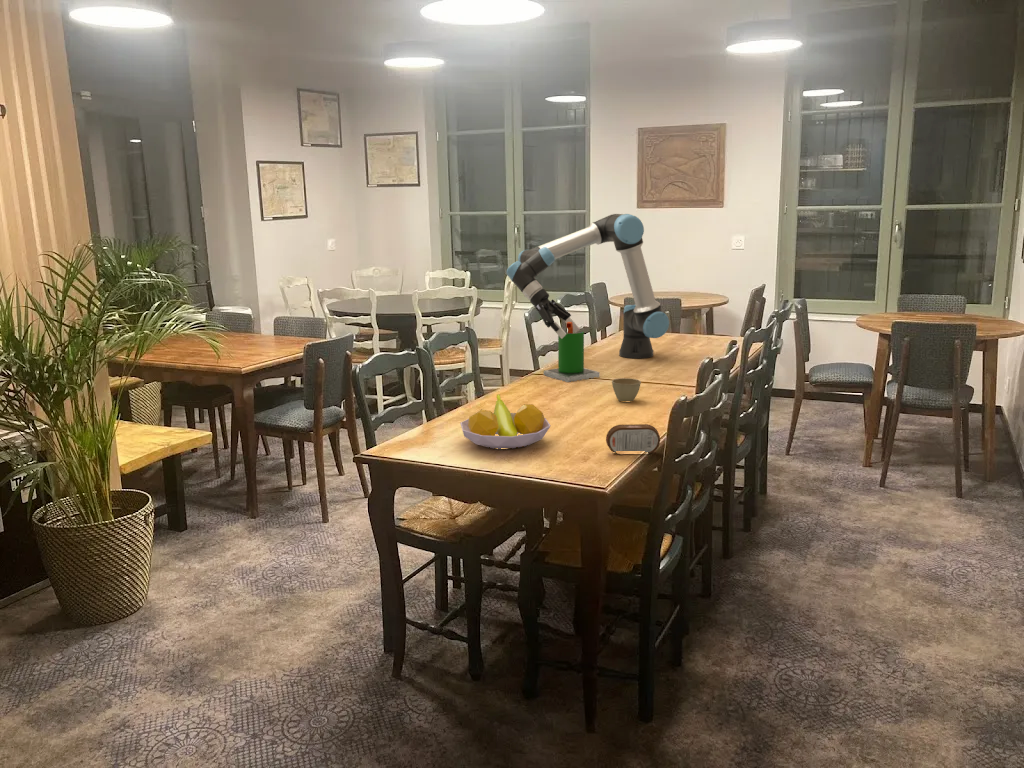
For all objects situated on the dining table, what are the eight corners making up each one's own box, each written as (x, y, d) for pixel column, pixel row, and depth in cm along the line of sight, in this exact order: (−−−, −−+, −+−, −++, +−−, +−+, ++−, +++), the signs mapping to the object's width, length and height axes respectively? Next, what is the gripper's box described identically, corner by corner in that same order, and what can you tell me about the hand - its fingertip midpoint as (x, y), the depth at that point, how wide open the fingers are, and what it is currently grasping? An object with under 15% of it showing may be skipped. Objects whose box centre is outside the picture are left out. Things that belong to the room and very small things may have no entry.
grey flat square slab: (575, 370, 346) (575, 365, 346) (599, 376, 333) (599, 371, 333) (543, 375, 338) (543, 370, 337) (567, 382, 325) (567, 376, 324)
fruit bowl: (544, 458, 233) (544, 418, 230) (450, 454, 238) (448, 416, 235) (557, 430, 260) (556, 395, 257) (471, 427, 264) (470, 392, 262)
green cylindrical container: (584, 368, 339) (584, 319, 334) (583, 373, 330) (583, 323, 326) (558, 368, 340) (558, 319, 335) (557, 373, 331) (557, 323, 327)
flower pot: (629, 405, 288) (630, 385, 286) (606, 401, 295) (606, 381, 293) (646, 400, 295) (646, 380, 293) (622, 396, 302) (622, 376, 300)
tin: (658, 451, 237) (659, 422, 235) (660, 455, 234) (661, 425, 232) (605, 453, 237) (605, 424, 235) (607, 456, 234) (607, 427, 232)
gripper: (543, 297, 348) (576, 335, 344) (516, 304, 326) (551, 345, 323) (555, 284, 344) (589, 323, 341) (528, 291, 323) (564, 332, 319)
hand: (571, 333), depth 332 cm, fingers open, 13 cm apart
